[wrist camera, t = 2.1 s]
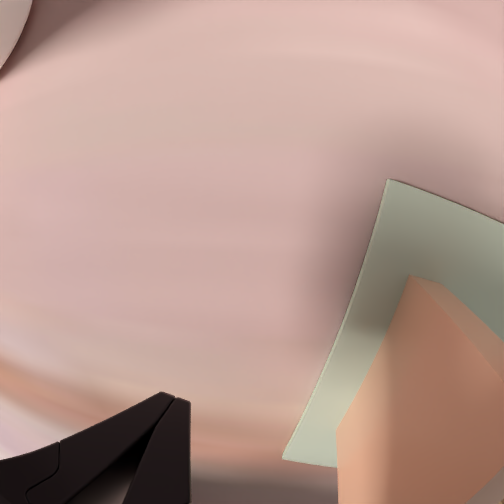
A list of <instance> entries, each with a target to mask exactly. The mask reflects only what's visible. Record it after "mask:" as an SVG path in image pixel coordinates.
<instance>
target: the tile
mask: <svg viewBox="0 0 504 504" xmlns="http://www.w3.org/2000/svg"><path fill="white" fill-rule="evenodd" d="M336 447H337V470H338V504H498V503H499V502H500V501H501V500H502V499H504V342H503V341H502V340H501V339H500V338H499V337H498V336H497V335H496V334H495V333H494V332H493V331H492V330H491V329H490V328H489V327H488V326H487V325H486V324H485V323H484V322H483V321H482V320H481V319H479V318H478V317H477V316H476V315H475V314H474V313H473V312H472V311H471V310H470V309H469V308H468V307H467V306H466V305H465V304H464V303H462V302H461V301H460V300H459V299H458V298H457V297H456V296H455V295H454V294H453V293H451V292H450V291H449V290H448V289H447V288H446V287H445V286H444V285H442V284H441V283H437V282H434V281H430V280H427V279H424V278H420V277H417V276H413V275H410V274H409V276H408V279H407V282H406V285H405V287H404V290H403V293H402V295H401V298H400V300H399V303H398V306H397V308H396V311H395V313H394V315H393V318H392V320H391V323H390V325H389V327H388V330H387V332H386V334H385V336H384V339H383V341H382V343H381V345H380V347H379V350H378V352H377V354H376V356H375V358H374V360H373V362H372V364H371V366H370V368H369V370H368V372H367V374H366V376H365V378H364V380H363V382H362V384H361V386H360V388H359V390H358V392H357V394H356V396H355V397H354V399H353V401H352V403H351V405H350V406H349V408H348V410H347V412H346V414H345V415H344V417H343V419H342V420H341V422H340V424H339V426H338V427H337V429H336Z"/></svg>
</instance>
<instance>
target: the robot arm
mask: <svg viewBox="0 0 504 504" xmlns="http://www.w3.org/2000/svg"><path fill="white" fill-rule="evenodd" d="M190 429H191V403H190V401H187V400H184V399H182V398H179V397H177V398H175V396H173V395H171V394H168V393H165V392H159V393H157V394H155V395H153V396H151V397H150V398H148V399H146V400H144V401H142V402H140V403H138V404H136V405H134V406H132V407H130V408H128V409H126V410H124V411H122V412H120V413H118V414H116V415H114V416H112V417H110V418H108V419H106V420H104V421H102V422H100V423H98V424H96V425H94V426H91V427H89V428H87V429H85V430H83V431H81V432H78V433H76V434H74V435H72V436H70V437H67V438H65V439H63V440H61V441H60V443H59V442H56V443H53V444H51V445H48V446H46V447H43V448H41V449H38V450H35V451H33V452H30V453H26V454H23V455H19V456H16V457H12V458H8V459H3V460H0V504H191V461H190Z"/></svg>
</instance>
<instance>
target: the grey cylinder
mask: <svg viewBox="0 0 504 504" xmlns="http://www.w3.org/2000/svg"><path fill="white" fill-rule="evenodd" d="M31 4H32V0H0V69H1V67H2V66H3V64H4V63H5V61H6V60H7V58H8V57H9V55H10V54H11V52H12V50H13V49H14V47H15V45H16V43H17V41H18V39H19V37H20V35H21V33H22V31H23V28H24V26H25V23H26V20H27V18H28V15H29V12H30V8H31Z"/></svg>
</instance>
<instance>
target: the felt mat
mask: <svg viewBox="0 0 504 504" xmlns="http://www.w3.org/2000/svg"><path fill="white" fill-rule="evenodd" d="M409 274H410V275H413V276H417V277H420V278H424V279H427V280H430V281H434V282H437V283H441V284H442V285H444V286H445V287H446V288H447V289H448V290H449V291H450V292H451V293H453V294H454V295H455V296H456V297H457V298H458V299H459V300H460V301H461V302H462V303H464V304H465V305H466V306H467V307H468V308H469V309H470V310H471V311H472V312H473V313H474V314H475V315H476V316H477V317H478V318H479V319H481V320H482V321H483V322H484V323H485V324H486V325H487V326H488V327H489V328H490V329H491V330H492V331H493V332H494V333H495V334H496V335H497V336H498V337H499V338H500V339H501V340H502V341H503V342H504V224H502V223H500V222H498V221H495V220H493V219H491V218H489V217H487V216H484V215H482V214H480V213H478V212H475V211H473V210H471V209H468V208H466V207H464V206H461V205H459V204H456V203H454V202H451V201H449V200H446V199H444V198H441V197H439V196H436V195H434V194H431V193H428V192H426V191H423V190H420V189H417V188H415V187H412V186H409V185H406V184H403V183H400V182H398V181H395V180H392V179H387V181H386V185H385V189H384V193H383V197H382V200H381V204H380V208H379V212H378V215H377V219H376V222H375V226H374V229H373V233H372V236H371V239H370V243H369V246H368V249H367V253H366V256H365V259H364V262H363V265H362V268H361V271H360V274H359V277H358V280H357V283H356V286H355V289H354V292H353V295H352V297H351V300H350V303H349V306H348V308H347V311H346V314H345V317H344V319H343V322H342V324H341V327H340V330H339V332H338V335H337V337H336V340H335V342H334V345H333V347H332V350H331V352H330V355H329V357H328V359H327V362H326V364H325V366H324V369H323V371H322V373H321V376H320V378H319V380H318V382H317V385H316V387H315V389H314V391H313V394H312V396H311V398H310V400H309V402H308V404H307V406H306V408H305V411H304V413H303V415H302V417H301V419H300V421H299V423H298V425H297V427H296V429H295V431H294V433H293V435H292V437H291V439H290V441H289V443H288V445H287V446H286V448H285V450H284V452H283V455H282V459H284V460H289V461H295V462H300V463H307V464H313V465H320V466H327V467H335V468H337V447H336V429H337V427H338V426H339V424H340V422H341V420H342V419H343V417H344V415H345V414H346V412H347V410H348V408H349V406H350V405H351V403H352V401H353V399H354V397H355V396H356V394H357V392H358V390H359V388H360V386H361V384H362V382H363V380H364V378H365V376H366V374H367V372H368V370H369V368H370V366H371V364H372V362H373V360H374V358H375V356H376V354H377V352H378V350H379V347H380V345H381V343H382V341H383V339H384V336H385V334H386V332H387V330H388V327H389V325H390V323H391V320H392V318H393V315H394V313H395V311H396V308H397V306H398V303H399V300H400V298H401V295H402V293H403V290H404V287H405V285H406V282H407V279H408V276H409Z"/></svg>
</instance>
